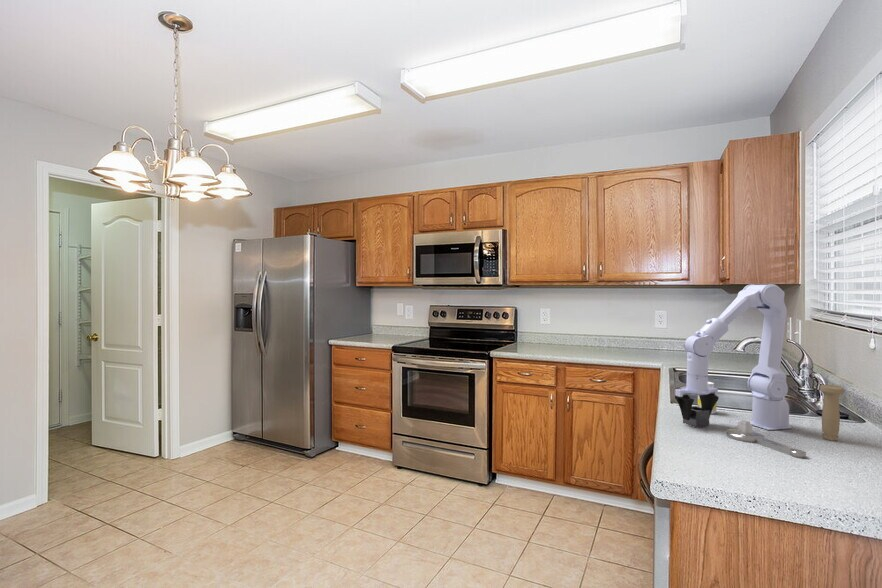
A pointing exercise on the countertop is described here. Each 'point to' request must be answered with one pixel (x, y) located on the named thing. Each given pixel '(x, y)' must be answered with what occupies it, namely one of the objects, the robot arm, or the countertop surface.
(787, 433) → the countertop surface
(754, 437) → the ratchet
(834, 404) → the handle
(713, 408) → the supplement bottle
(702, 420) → the square metal tube
